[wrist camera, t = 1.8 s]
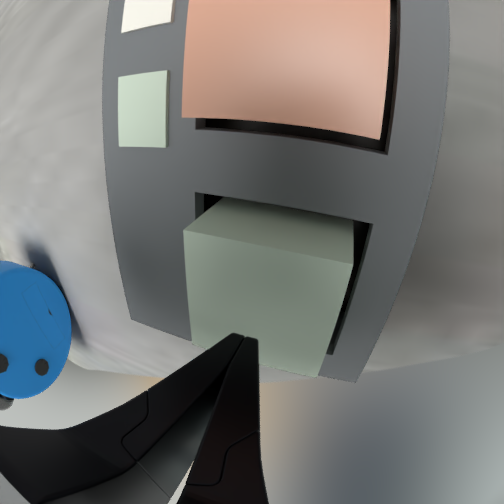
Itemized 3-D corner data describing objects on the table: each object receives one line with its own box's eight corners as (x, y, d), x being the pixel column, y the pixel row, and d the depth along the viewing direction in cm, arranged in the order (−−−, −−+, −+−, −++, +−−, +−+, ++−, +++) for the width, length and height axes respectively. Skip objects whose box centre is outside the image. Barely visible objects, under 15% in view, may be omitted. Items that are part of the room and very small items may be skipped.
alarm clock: (21, 237, 24) (-78, 312, 12) (48, 242, 22) (-69, 333, 10) (60, 331, 30) (-12, 407, 18) (90, 345, 29) (13, 435, 16)
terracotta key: (378, -1, 7) (388, -41, 4) (368, 130, 9) (379, 140, 6) (235, -9, 8) (194, -42, 5) (227, 112, 11) (181, 117, 8)
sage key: (352, 220, 11) (353, 264, 8) (326, 322, 14) (316, 378, 11) (224, 197, 12) (183, 230, 9) (222, 298, 15) (192, 344, 12)
